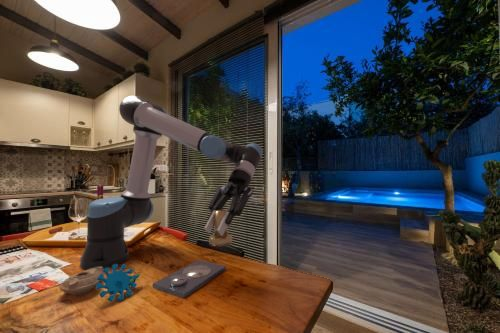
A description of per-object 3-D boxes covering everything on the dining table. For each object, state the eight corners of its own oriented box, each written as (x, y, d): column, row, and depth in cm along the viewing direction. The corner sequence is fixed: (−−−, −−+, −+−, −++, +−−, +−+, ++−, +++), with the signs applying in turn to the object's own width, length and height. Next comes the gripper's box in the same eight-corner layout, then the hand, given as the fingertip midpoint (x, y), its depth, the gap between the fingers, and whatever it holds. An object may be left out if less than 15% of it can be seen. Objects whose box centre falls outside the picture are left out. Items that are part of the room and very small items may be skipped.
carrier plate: (152, 287, 63) (152, 279, 63) (198, 263, 81) (198, 256, 81) (184, 298, 58) (184, 289, 58) (225, 269, 76) (225, 262, 76)
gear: (100, 304, 52) (95, 265, 58) (91, 316, 54) (87, 278, 59) (145, 291, 61) (137, 259, 66) (136, 302, 63) (129, 270, 68)
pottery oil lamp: (114, 276, 69) (117, 259, 67) (82, 311, 58) (84, 292, 56) (89, 266, 70) (91, 249, 67) (52, 299, 58) (52, 280, 56)
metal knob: (204, 244, 66) (205, 210, 66) (218, 238, 72) (218, 207, 73) (223, 248, 63) (224, 213, 63) (236, 241, 69) (236, 209, 69)
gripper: (266, 183, 78) (242, 243, 63) (226, 182, 86) (196, 234, 70) (260, 168, 73) (233, 228, 58) (218, 168, 81) (185, 221, 66)
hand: (213, 231), depth 64 cm, fingers closed on metal knob, 4 cm apart
